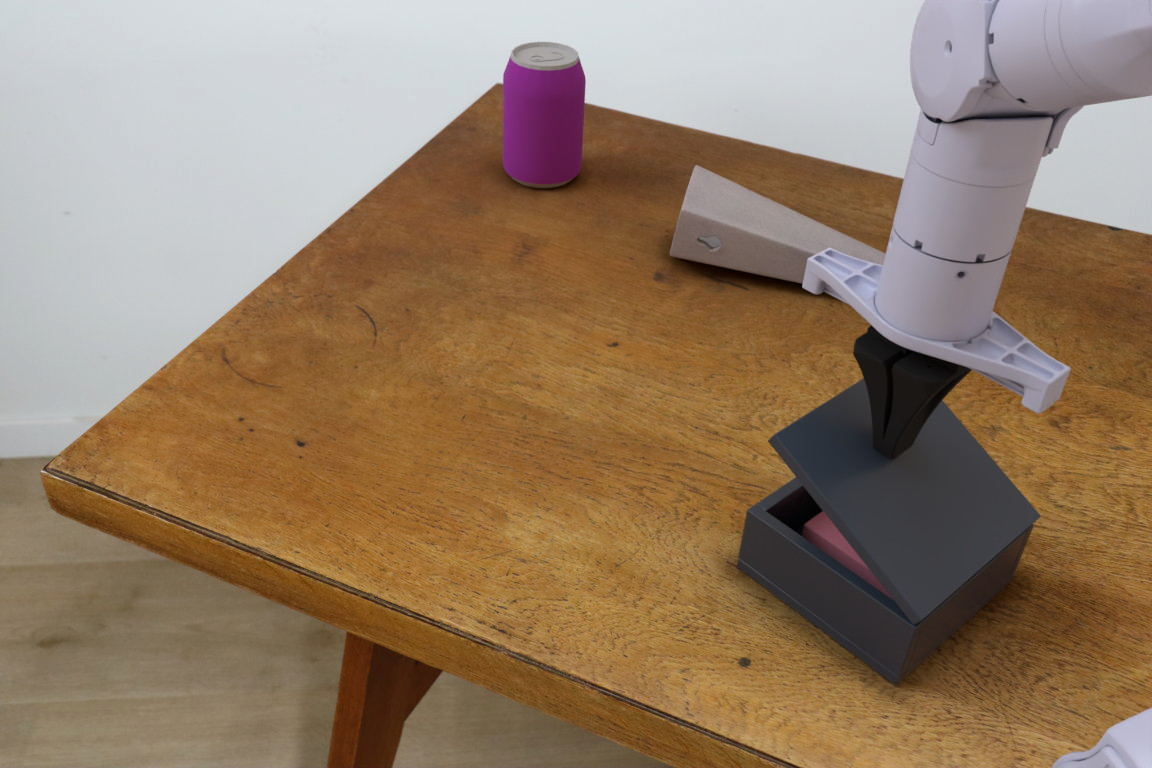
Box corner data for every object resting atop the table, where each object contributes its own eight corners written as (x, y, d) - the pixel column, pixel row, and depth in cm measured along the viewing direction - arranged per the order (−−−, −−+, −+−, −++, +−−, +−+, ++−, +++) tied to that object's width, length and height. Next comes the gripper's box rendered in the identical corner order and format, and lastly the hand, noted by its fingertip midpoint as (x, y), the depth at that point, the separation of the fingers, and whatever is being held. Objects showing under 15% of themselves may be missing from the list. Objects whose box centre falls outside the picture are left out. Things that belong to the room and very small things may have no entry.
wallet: (957, 583, 66) (965, 559, 65) (908, 625, 63) (916, 601, 62) (847, 511, 70) (853, 487, 69) (798, 547, 68) (803, 523, 66)
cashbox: (736, 567, 67) (746, 509, 64) (855, 482, 74) (870, 426, 71) (895, 687, 61) (915, 628, 58) (1011, 581, 67) (1034, 524, 64)
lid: (767, 441, 61) (773, 434, 60) (895, 360, 67) (903, 353, 67) (913, 625, 58) (922, 620, 57) (1032, 521, 64) (1041, 516, 64)
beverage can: (524, 198, 104) (526, 74, 97) (489, 164, 109) (488, 45, 102) (595, 182, 107) (602, 62, 100) (558, 151, 112) (562, 34, 105)
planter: (996, 227, 94) (701, 149, 96) (1003, 276, 87) (684, 191, 89) (962, 302, 99) (681, 227, 101) (966, 355, 92) (664, 272, 94)
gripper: (1133, 268, 52) (1046, 483, 60) (878, 159, 60) (832, 360, 69) (1057, 320, 48) (976, 542, 56) (796, 196, 56) (758, 405, 65)
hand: (892, 446), depth 62 cm, fingers closed
